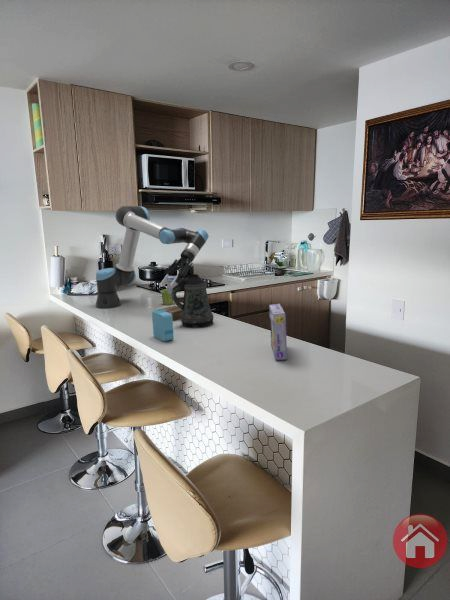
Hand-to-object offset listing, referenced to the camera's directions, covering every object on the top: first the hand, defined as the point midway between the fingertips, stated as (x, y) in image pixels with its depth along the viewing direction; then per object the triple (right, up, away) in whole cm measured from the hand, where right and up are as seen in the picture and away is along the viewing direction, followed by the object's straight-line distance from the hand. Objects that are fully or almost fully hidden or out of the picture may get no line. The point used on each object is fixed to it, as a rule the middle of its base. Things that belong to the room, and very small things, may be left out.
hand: (167, 285), depth 208 cm
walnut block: (+3, -17, +6) cm, 18 cm away
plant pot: (-5, -10, +41) cm, 42 cm away
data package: (+3, -25, -33) cm, 41 cm away
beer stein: (+16, -20, -11) cm, 28 cm away
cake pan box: (+51, -28, -56) cm, 81 cm away
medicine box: (+3, -4, +3) cm, 6 cm away
